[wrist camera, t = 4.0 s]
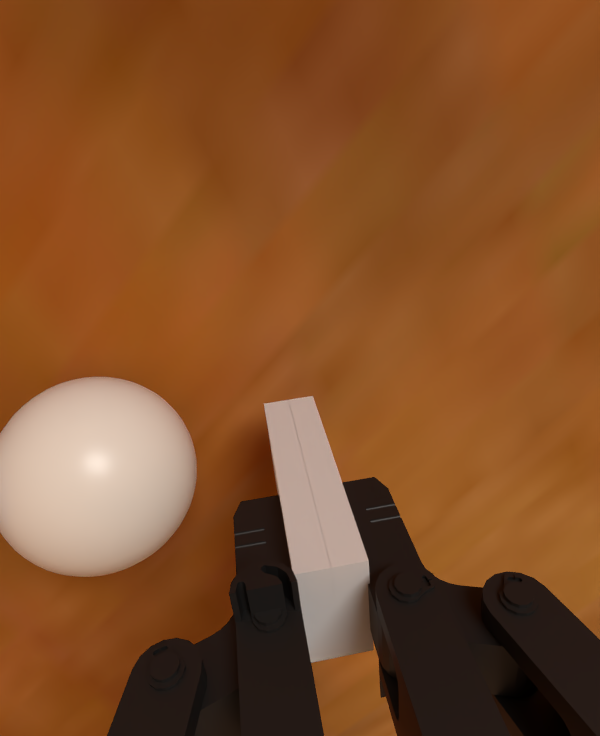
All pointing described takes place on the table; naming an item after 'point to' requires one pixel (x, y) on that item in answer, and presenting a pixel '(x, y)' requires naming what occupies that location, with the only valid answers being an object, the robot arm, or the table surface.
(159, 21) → the table surface
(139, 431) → the cue ball
